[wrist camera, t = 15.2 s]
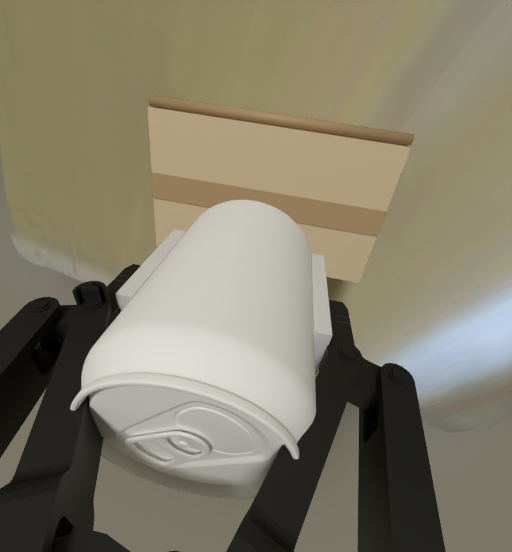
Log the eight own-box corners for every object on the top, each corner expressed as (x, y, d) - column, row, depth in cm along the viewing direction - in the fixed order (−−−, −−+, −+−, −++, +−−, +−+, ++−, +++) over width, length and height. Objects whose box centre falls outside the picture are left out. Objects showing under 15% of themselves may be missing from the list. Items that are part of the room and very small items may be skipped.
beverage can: (333, 274, 18) (366, 498, 8) (238, 316, 21) (182, 509, 12) (264, 167, 15) (185, 323, 5) (165, 237, 18) (5, 410, 9)
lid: (152, 94, 24) (146, 93, 23) (411, 134, 22) (416, 134, 21) (160, 242, 31) (156, 246, 30) (357, 278, 29) (359, 283, 28)
